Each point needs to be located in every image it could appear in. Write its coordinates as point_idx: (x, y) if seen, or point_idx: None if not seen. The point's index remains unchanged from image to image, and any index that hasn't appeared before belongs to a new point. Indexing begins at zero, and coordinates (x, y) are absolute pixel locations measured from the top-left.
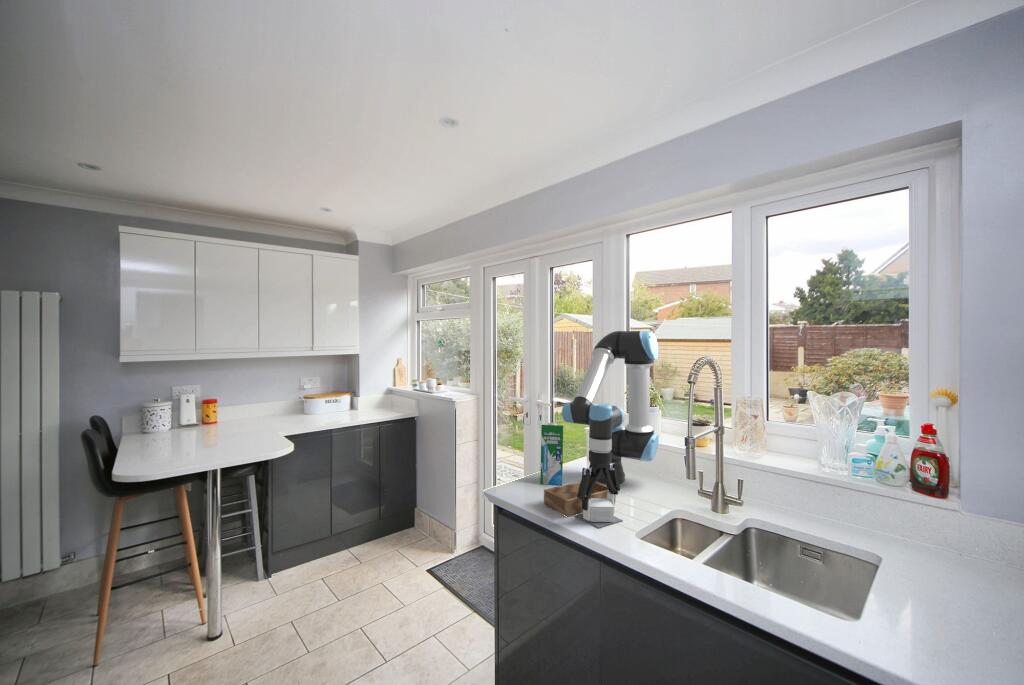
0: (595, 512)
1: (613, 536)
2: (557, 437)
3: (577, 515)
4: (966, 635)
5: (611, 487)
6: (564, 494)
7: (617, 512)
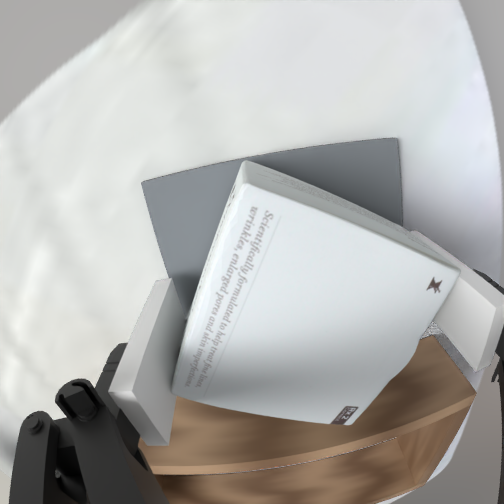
0: (409, 236)
1: (364, 7)
2: None
3: None
4: None
5: (136, 482)
6: (313, 484)
7: (108, 316)
